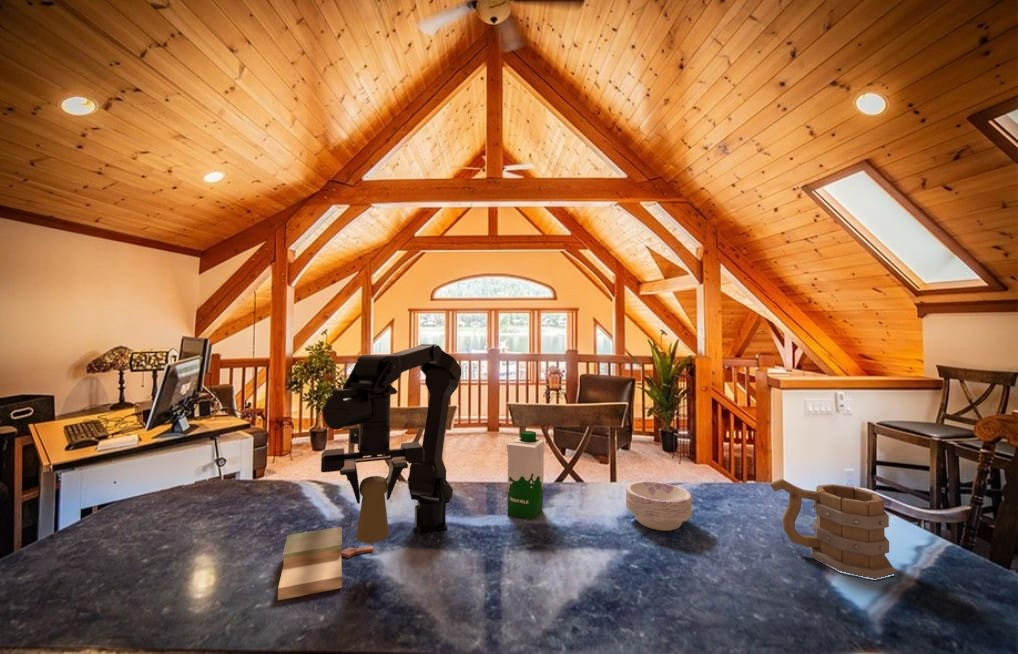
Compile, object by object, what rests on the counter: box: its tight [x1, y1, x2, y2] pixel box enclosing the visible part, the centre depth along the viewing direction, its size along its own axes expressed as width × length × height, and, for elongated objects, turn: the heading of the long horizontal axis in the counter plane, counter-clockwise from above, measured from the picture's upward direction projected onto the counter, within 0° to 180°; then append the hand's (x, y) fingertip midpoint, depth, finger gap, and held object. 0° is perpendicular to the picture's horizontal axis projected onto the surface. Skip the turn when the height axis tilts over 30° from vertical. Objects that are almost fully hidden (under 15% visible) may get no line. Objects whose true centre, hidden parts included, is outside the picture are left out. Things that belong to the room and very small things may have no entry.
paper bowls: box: [625, 480, 693, 532], centre depth 103 cm, size 15×15×8 cm
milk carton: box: [506, 430, 545, 521], centre depth 108 cm, size 9×9×20 cm
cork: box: [356, 475, 390, 544], centre depth 81 cm, size 6×6×11 cm
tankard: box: [769, 478, 896, 579], centre depth 87 cm, size 20×13×15 cm, turn 62°
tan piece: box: [277, 526, 374, 601], centre depth 82 cm, size 16×16×4 cm
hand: (373, 501), depth 81 cm, fingers closed on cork, 5 cm apart
